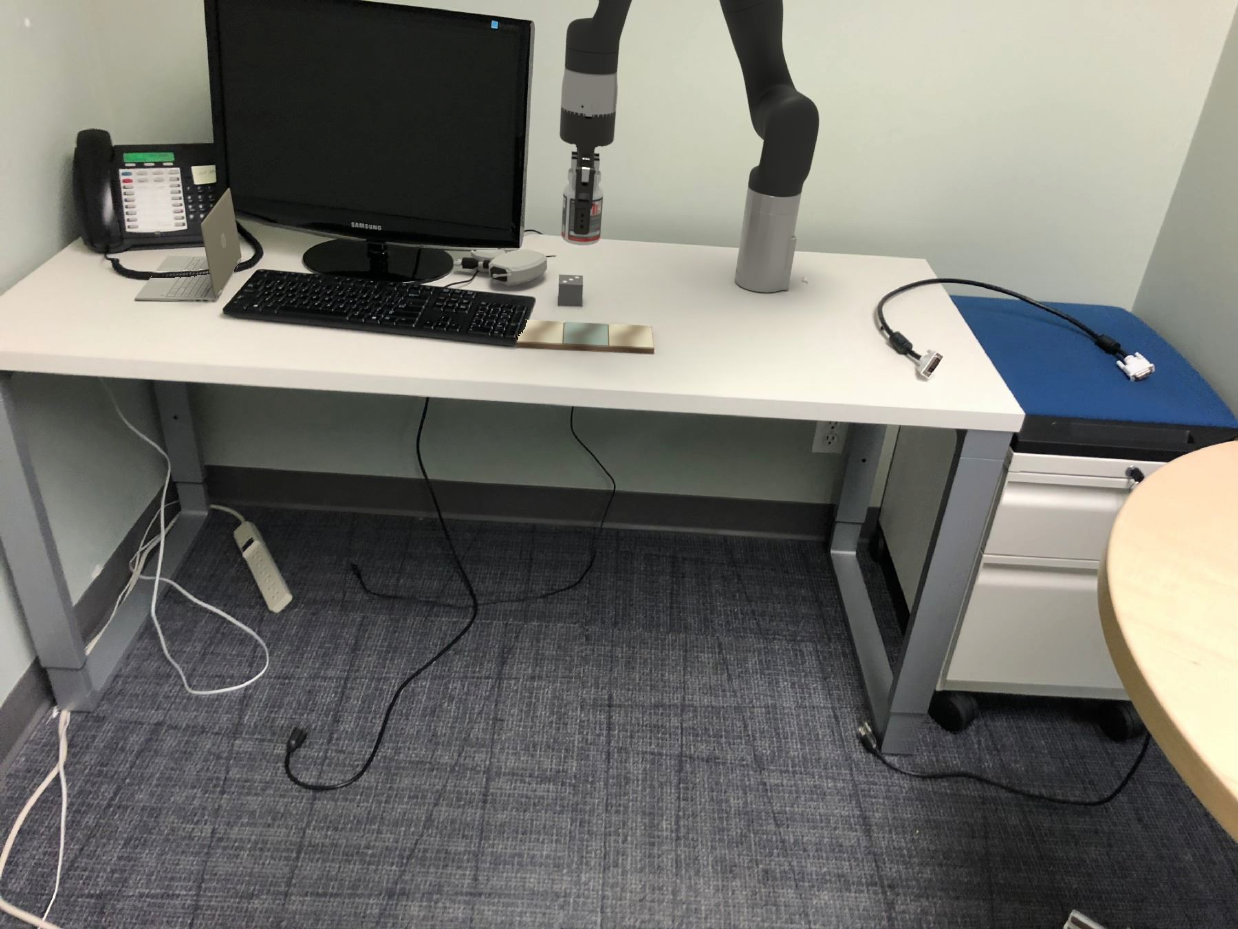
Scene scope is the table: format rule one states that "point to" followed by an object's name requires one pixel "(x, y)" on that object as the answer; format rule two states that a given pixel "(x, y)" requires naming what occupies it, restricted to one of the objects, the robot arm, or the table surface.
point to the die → (570, 290)
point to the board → (587, 337)
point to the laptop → (202, 261)
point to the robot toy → (507, 264)
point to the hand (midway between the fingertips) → (581, 225)
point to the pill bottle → (570, 211)
